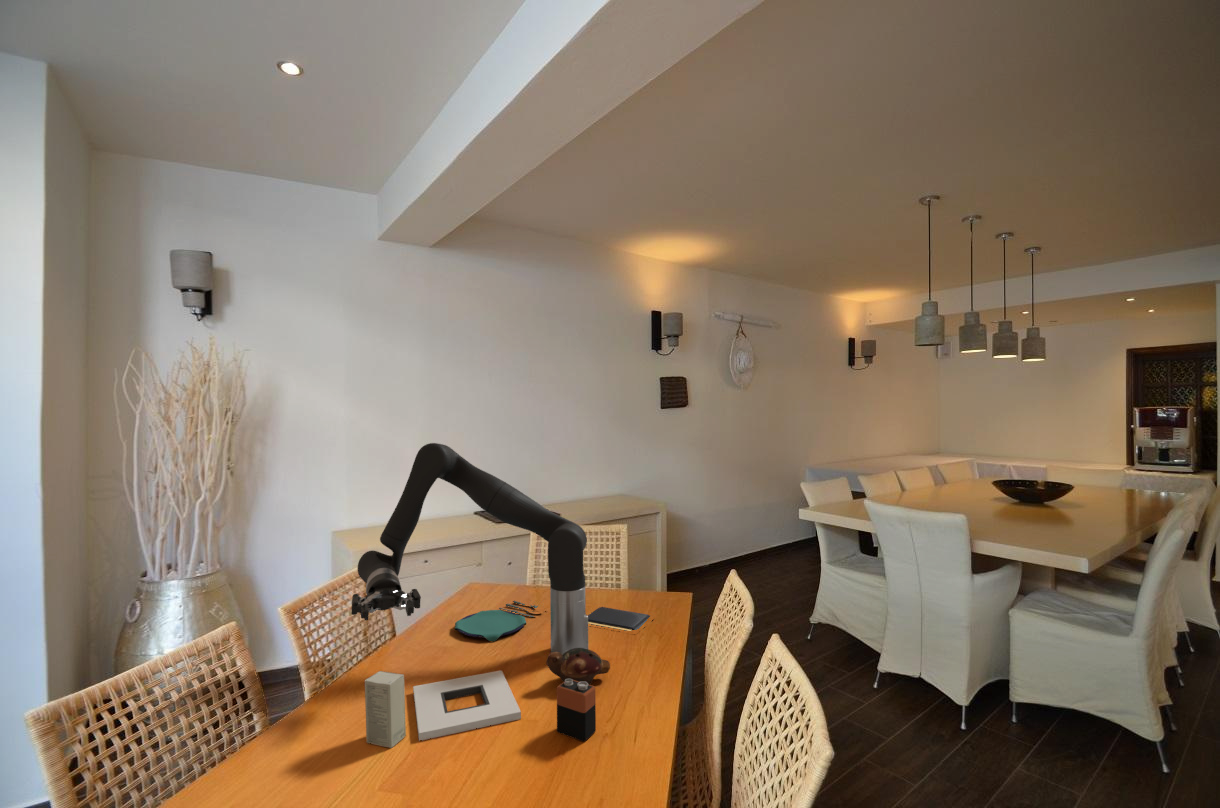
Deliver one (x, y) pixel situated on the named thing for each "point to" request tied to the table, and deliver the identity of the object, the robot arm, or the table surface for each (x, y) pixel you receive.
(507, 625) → the teal flat piece
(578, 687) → the battery
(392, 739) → the skincare box
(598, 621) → the dark hardcover book
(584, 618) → the robot arm
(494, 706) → the slot board
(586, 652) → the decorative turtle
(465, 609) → the table surface
